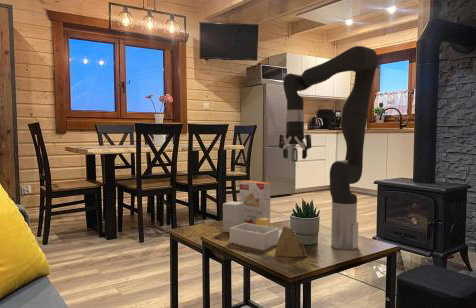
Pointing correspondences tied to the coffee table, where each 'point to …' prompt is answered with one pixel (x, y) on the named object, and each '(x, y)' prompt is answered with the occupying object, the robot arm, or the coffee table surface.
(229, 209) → the supplement box
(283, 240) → the rock
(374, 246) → the coffee table surface
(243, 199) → the cracker box
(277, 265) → the coffee table surface
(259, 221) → the lid
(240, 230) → the tub
